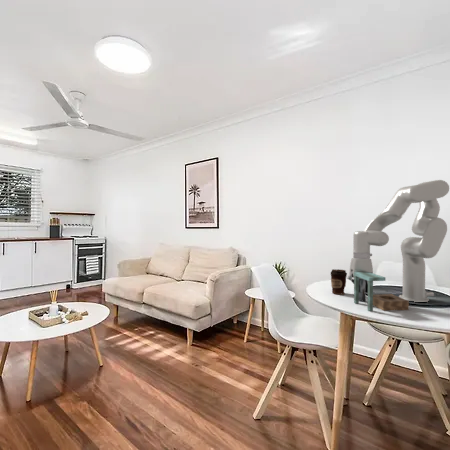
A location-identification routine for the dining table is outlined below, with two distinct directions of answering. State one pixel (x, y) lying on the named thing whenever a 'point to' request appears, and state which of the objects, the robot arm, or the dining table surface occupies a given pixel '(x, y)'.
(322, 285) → the dining table surface
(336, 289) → the coffee cup
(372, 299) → the socket station
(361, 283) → the peg
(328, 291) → the dining table surface
